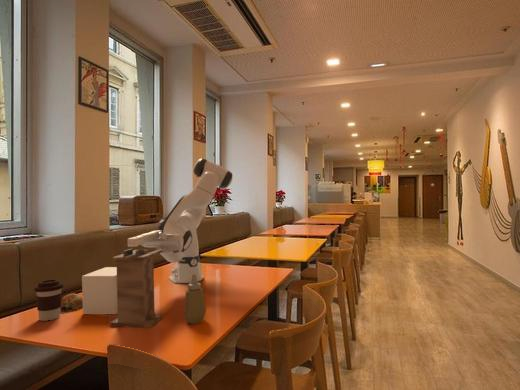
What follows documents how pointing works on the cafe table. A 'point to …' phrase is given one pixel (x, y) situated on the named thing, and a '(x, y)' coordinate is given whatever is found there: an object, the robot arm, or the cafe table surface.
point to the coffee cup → (49, 299)
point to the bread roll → (71, 302)
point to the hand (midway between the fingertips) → (154, 233)
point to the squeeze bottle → (194, 302)
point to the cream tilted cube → (100, 291)
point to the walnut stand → (135, 289)
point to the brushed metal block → (143, 238)
